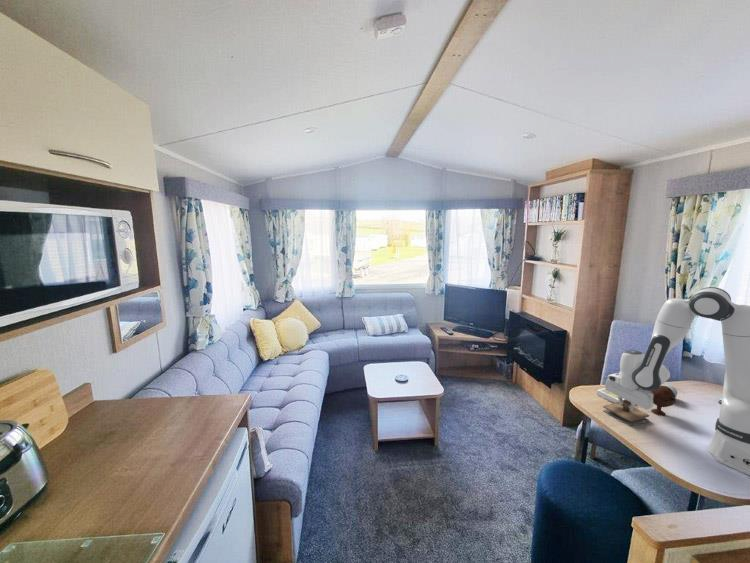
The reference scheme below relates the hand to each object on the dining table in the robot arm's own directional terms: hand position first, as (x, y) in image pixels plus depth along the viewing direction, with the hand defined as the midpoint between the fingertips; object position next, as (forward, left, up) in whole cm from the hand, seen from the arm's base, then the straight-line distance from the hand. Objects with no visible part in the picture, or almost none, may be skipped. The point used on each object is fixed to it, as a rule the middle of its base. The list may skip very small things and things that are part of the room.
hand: (626, 407), depth 154 cm
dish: (+13, -12, -5) cm, 18 cm away
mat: (0, 0, -5) cm, 5 cm away
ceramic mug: (+4, -37, -5) cm, 37 cm away
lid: (0, 0, -2) cm, 2 cm away
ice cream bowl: (-4, -18, -5) cm, 19 cm away
